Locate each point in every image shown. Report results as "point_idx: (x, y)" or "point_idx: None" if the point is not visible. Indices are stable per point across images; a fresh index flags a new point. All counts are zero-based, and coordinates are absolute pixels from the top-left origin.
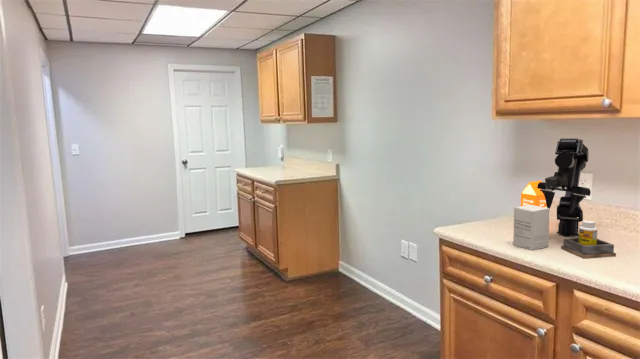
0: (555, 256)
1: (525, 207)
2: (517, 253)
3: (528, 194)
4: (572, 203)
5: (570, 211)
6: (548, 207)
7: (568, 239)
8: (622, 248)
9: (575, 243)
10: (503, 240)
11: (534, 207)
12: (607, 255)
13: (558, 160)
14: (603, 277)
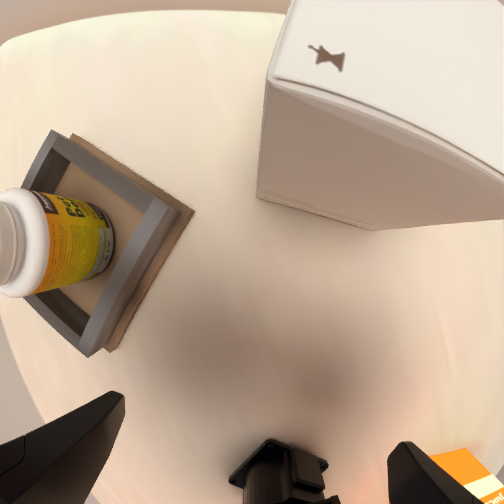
0: (169, 78)
1: (479, 12)
2: None
3: None
4: (18, 442)
5: (102, 398)
6: (403, 453)
7: (138, 204)
8: (48, 386)
9: (90, 155)
10: None
11: (439, 27)
12: None
13: None
14: (32, 40)
